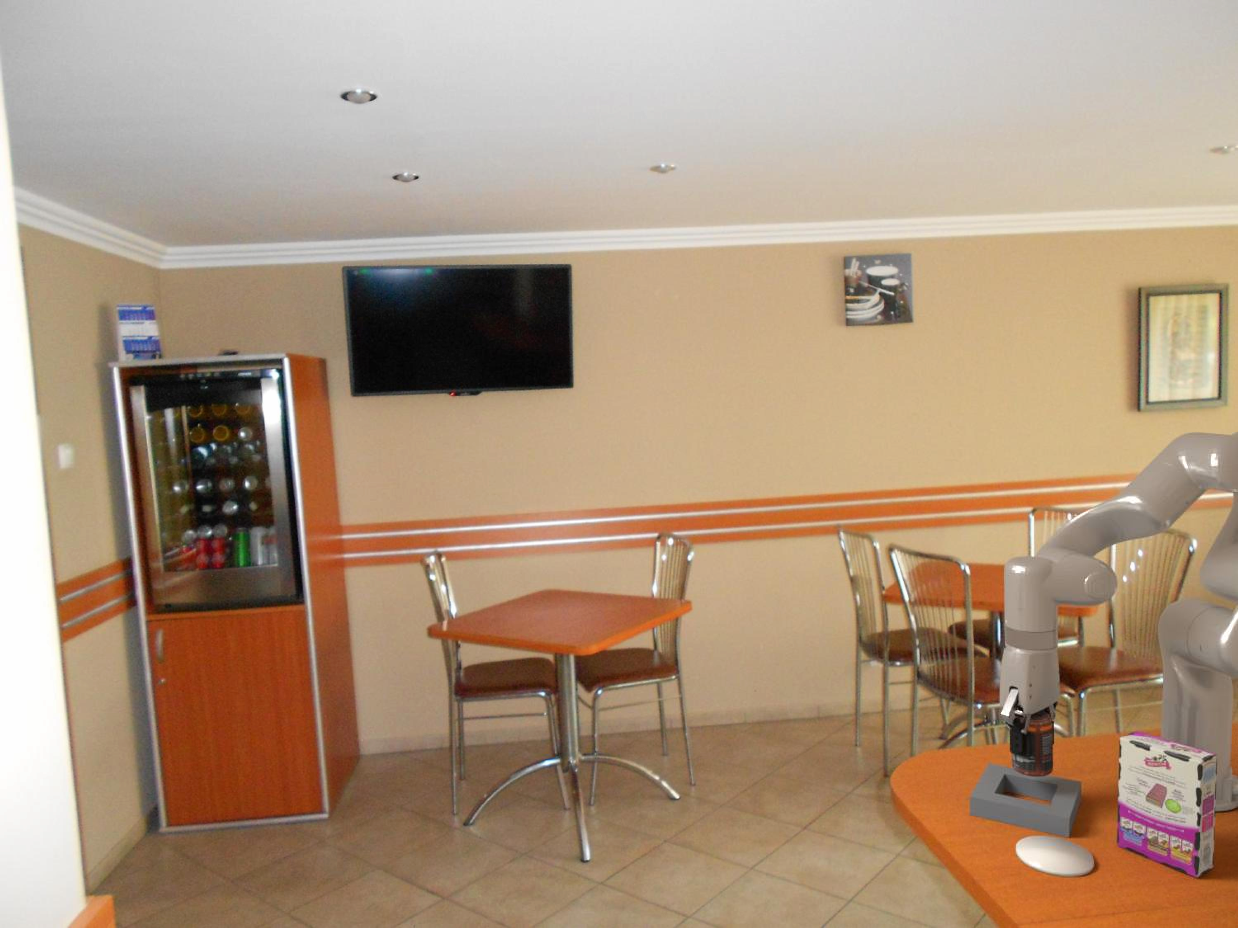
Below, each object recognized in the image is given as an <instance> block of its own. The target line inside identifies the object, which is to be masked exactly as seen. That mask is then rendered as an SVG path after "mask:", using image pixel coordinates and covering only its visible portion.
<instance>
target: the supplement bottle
mask: <svg viewBox="0 0 1238 928" xmlns="http://www.w3.org/2000/svg"><path fill="white" fill-rule="evenodd" d="M1045 709H1046V708H1044V709H1042V710H1040V711H1038V712H1036V713H1034V714H1032V715H1031V719H1030V724H1029V729H1028V732H1029V733H1031V757H1030V758H1025V757H1022V756H1019V755H1015V754H1012V753H1011V766H1012V768H1014V770H1016V771H1017V772H1019V773H1021V774H1024V775H1027V776H1033V777H1034V776H1035V777H1042V776H1046V775H1050V774H1052V773H1053V771H1054V747H1053V746H1054V744H1053V732H1052V731H1053V729H1052V721H1053V720H1052V719H1051V717H1050V715H1049V714H1047V713H1046V712H1045ZM1017 710H1019V711H1023V708H1022V707H1019V706H1018V707H1017ZM1023 717H1024V716H1022V715H1018V714H1017V717H1016V718H1018V719H1019V720H1020V721H1021V722H1023Z"/></svg>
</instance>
